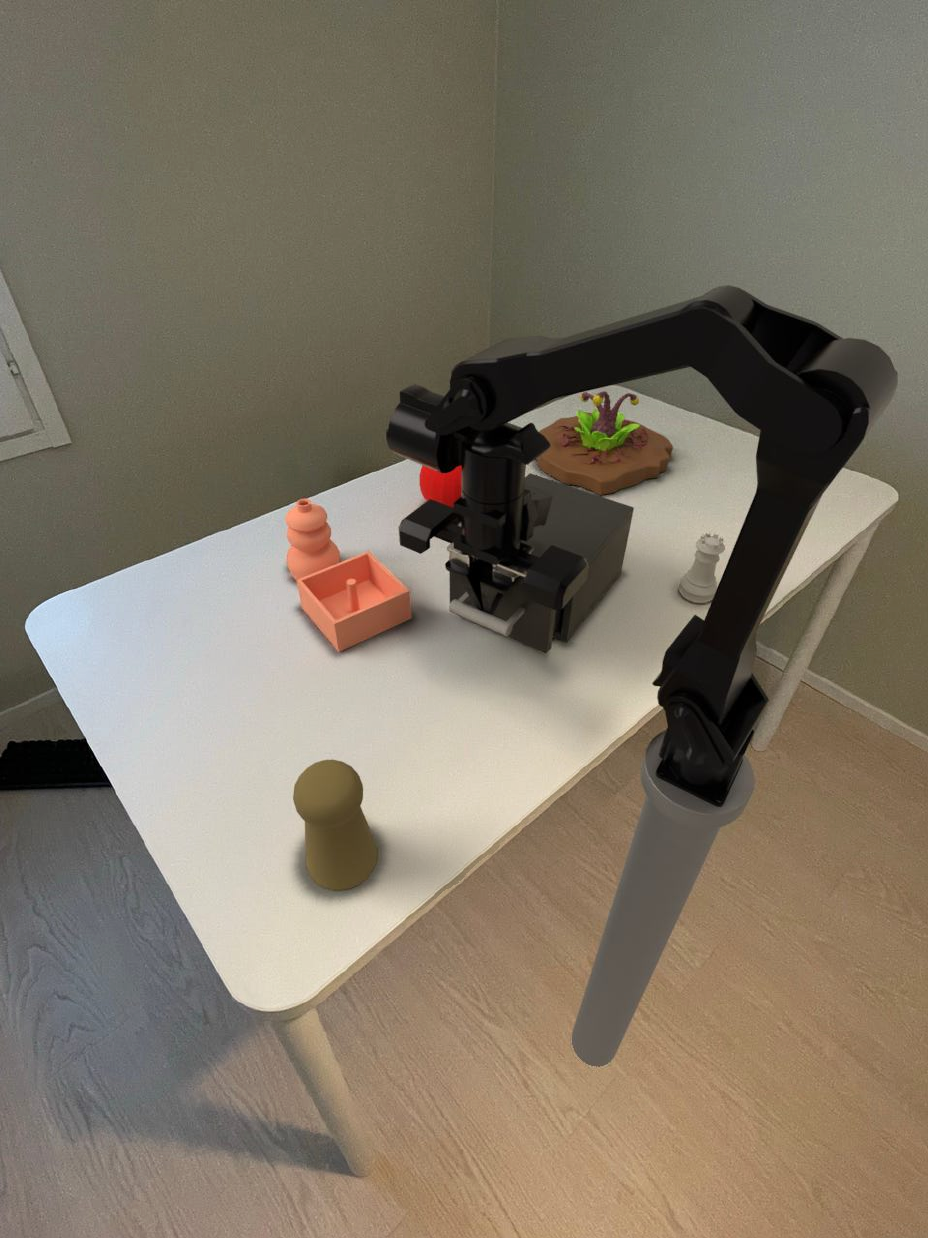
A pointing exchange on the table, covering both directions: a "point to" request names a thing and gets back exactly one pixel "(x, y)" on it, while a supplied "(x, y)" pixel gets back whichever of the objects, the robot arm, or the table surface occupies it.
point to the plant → (603, 448)
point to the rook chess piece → (703, 570)
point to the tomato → (440, 485)
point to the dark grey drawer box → (583, 542)
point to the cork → (335, 825)
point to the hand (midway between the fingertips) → (488, 614)
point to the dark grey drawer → (510, 616)
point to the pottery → (341, 582)
